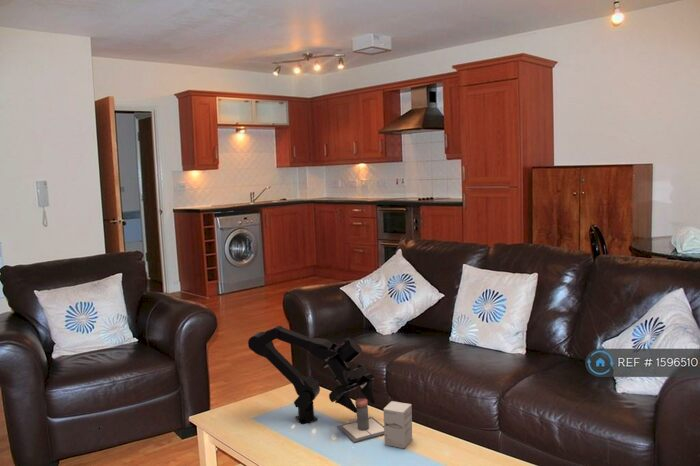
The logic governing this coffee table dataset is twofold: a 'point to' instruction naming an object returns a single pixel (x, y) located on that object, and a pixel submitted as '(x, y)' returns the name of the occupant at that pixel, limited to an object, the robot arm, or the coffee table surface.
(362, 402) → the ball
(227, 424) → the coffee table surface
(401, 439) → the supplement box
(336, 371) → the robot arm
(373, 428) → the grey framed board
